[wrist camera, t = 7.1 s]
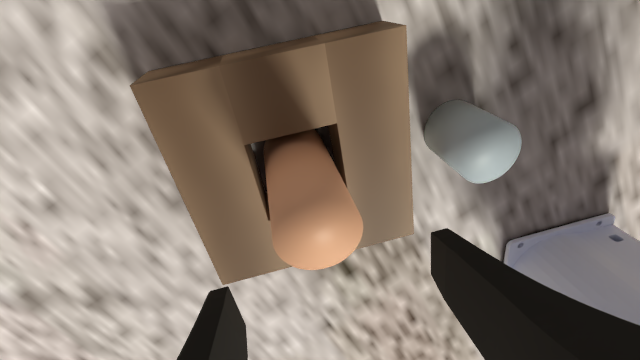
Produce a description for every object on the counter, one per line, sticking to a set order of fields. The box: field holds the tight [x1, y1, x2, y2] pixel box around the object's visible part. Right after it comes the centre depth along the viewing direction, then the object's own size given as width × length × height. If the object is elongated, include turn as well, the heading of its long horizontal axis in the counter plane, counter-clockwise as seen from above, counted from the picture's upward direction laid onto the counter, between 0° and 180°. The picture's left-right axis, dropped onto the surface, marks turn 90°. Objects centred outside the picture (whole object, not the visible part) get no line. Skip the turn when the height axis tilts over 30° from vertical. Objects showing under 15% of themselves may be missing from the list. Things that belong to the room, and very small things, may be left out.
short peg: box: [424, 100, 522, 183], centre depth 19 cm, size 4×4×4 cm
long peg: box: [264, 129, 363, 270], centre depth 16 cm, size 4×4×8 cm
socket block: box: [130, 21, 414, 285], centre depth 18 cm, size 12×12×3 cm
